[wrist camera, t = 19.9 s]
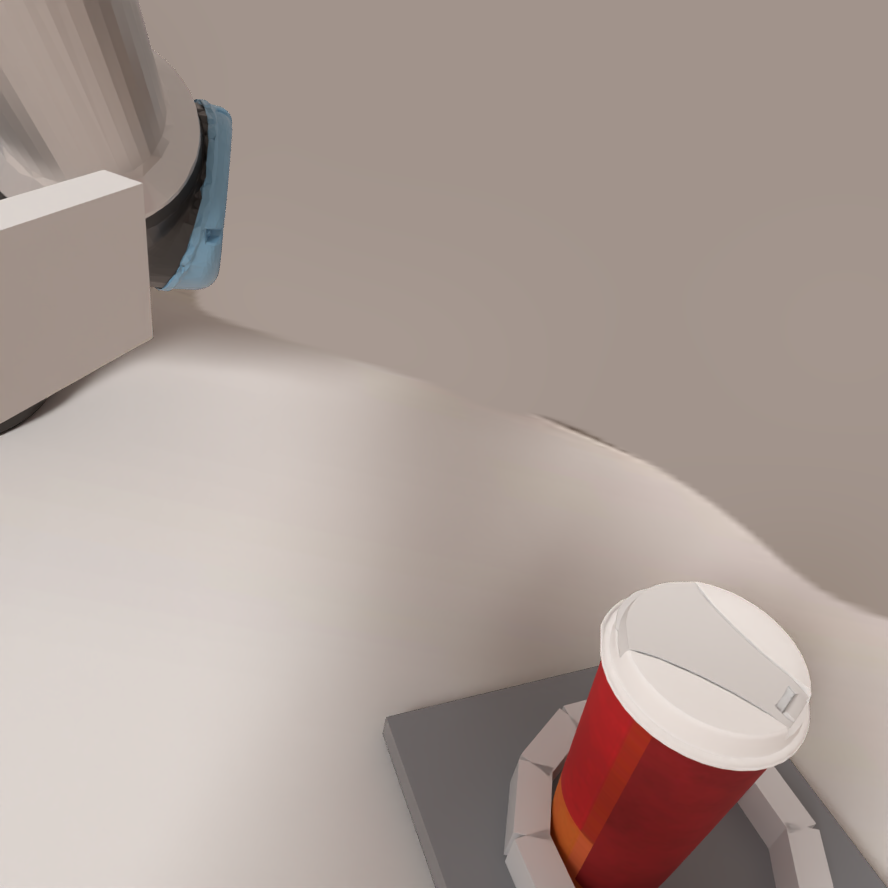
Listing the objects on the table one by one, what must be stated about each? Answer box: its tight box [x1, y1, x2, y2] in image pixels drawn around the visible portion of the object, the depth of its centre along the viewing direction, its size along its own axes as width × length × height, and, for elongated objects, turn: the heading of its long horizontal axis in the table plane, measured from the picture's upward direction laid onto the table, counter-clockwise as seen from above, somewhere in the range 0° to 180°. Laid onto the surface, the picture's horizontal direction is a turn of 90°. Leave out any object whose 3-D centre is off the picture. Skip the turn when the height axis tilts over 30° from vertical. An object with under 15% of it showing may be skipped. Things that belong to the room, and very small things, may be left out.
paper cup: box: [550, 582, 811, 888], centre depth 32 cm, size 8×8×14 cm
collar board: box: [383, 666, 887, 888], centre depth 36 cm, size 20×20×4 cm
